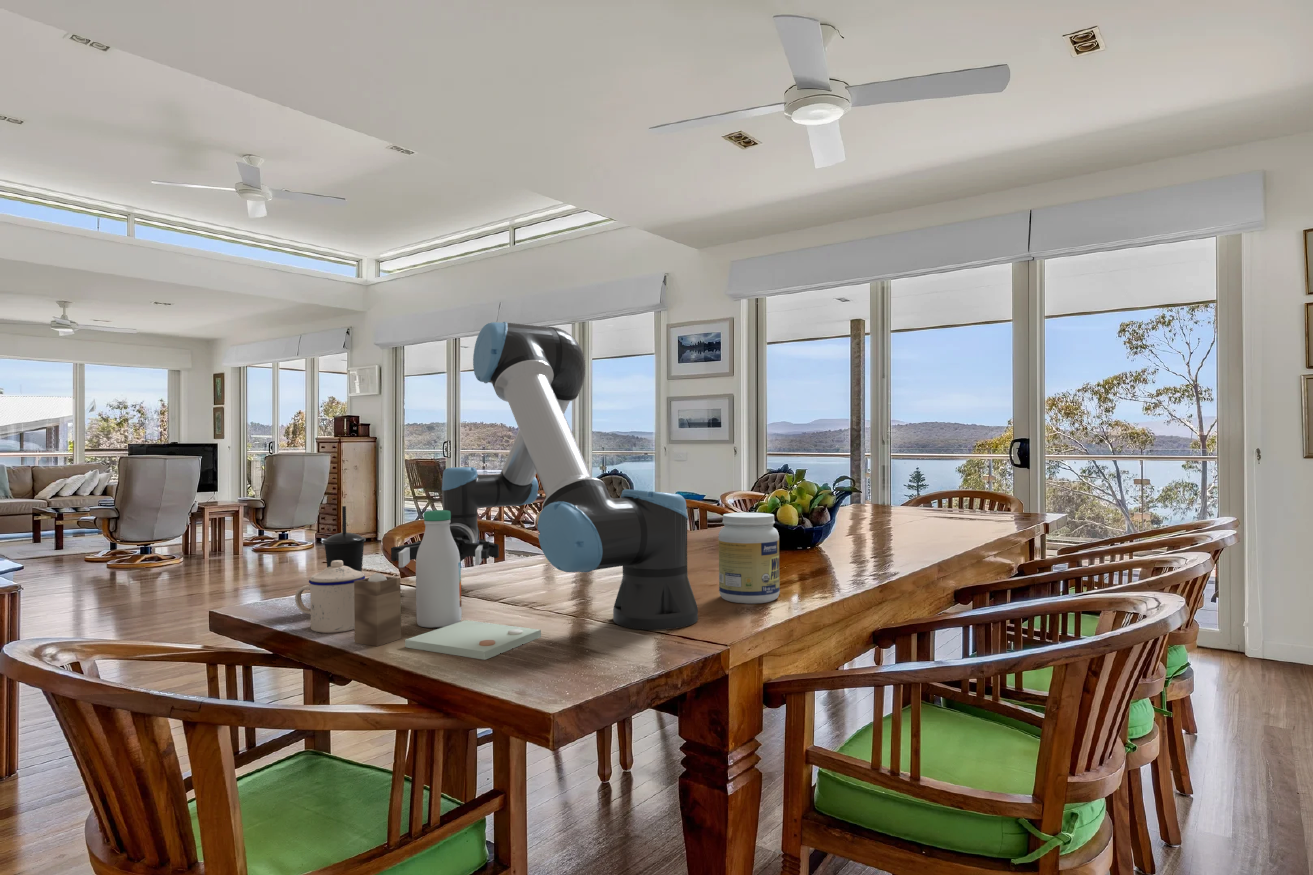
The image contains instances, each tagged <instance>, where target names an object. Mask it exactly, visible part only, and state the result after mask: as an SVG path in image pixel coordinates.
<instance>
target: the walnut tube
mask: <svg viewBox="0 0 1313 875" xmlns="http://www.w3.org/2000/svg"><path fill="white" fill-rule="evenodd" d="M384 576H385V577H386V579H387V580H384V581H379V582H371V581H368V579H369V577H367V578H366V577H365V579H361V580H356V581H354V619H355V629H354V643H355V644H360V645H366V646H367V645H368V646H373V647H380V646H382V645H385V644H389V643H392V642H395V641H397V640H398V641H399V640H401V639H402V618H401V617H402V613H401V612H402V609H401V607H402V606H401V599H402V598H401V577H396V576H395V577H394V576H393V577H392V576H386V575H384Z"/></svg>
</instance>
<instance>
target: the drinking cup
mask: <svg viewBox="0 0 1313 875" xmlns="http://www.w3.org/2000/svg"><path fill="white" fill-rule="evenodd" d="M341 507H342V508H341V510H342V514H341V515H342V516H341V517H342V518H341V521H342V522H341V523H342V532H340V533H339V532H338V533H335V534H333V535H330V536H329V537H327V538H324V539H322V544H324V551H325V560H326V561H325V562H326V568H328V567H331V562H332V561H335V560H342V561H343V566H348V567H350V568H352V569H354V570H356V571H361V572H363V571H362V570H363V561H364V560H363V559H364V546H365V544H364V543H365V542H366V537H365V536H361V535H360V534H357V533H355V532H347V506H346V505H344V506H343V505H342V506H341Z"/></svg>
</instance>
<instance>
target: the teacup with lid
mask: <svg viewBox="0 0 1313 875" xmlns="http://www.w3.org/2000/svg"><path fill="white" fill-rule="evenodd" d="M365 578H366V575H365V574H364V572H363V571H362V572H361V571H356V570H354V569H352V568H350V567H348V566H343V561H342V560H335V561H332V562H331V567H328V568H327V567H326V568H324V569H323V570H322V571H319V572H317V573H315V574H314V573H313V574H312V575H311V576H310V577H309V580H308V584H307V585H304V586H301V587H299V588H298V589H297V590H296V592H295V595H294V600H295V604H296V607H297V609H298V610H299V611H301V612H302V613H303V614H307V615H310V629H311V631H312V632H315V633H319V634H320V633H321V634H323V633H324V634H335V633H343V632H349V631H353V630H355V619H354V581H356V580H361V579H365ZM309 584H310V585H309ZM305 590H306V591H310V594H309V595H310V596H309V597H310V608H308V607H307V606H305V604H304V603H303V601H302V594H303V592H304V591H305Z"/></svg>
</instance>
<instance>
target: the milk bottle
mask: <svg viewBox="0 0 1313 875" xmlns="http://www.w3.org/2000/svg"><path fill="white" fill-rule="evenodd" d="M450 519H451V512H450V511H448V510H443V509H441V510H439V509H436V510H434V509H433V510H426V511H424V512H423V521H424V522H423V524H424V527H425V528H424V529H425V530H424V532H423V533H424V534H423V537H422V539H421V541H422V542H421V544H420V546H419V549H418V552H417V557H416V559H415V602H416V605H415V606H416V623H417V626H419V627H422V628H443V627H446V626H449V625H452V624H455V623H458V622H461V621H462V606H463V605H462V604H463V603H462V575H461V570H462V569H461V568H462V567H461V561H460V555H459V550H458V547H457V545H456V543H455V541H454V539H453V537H452V534H451V531H450V525H449V524H450V523H451V521H450Z"/></svg>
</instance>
